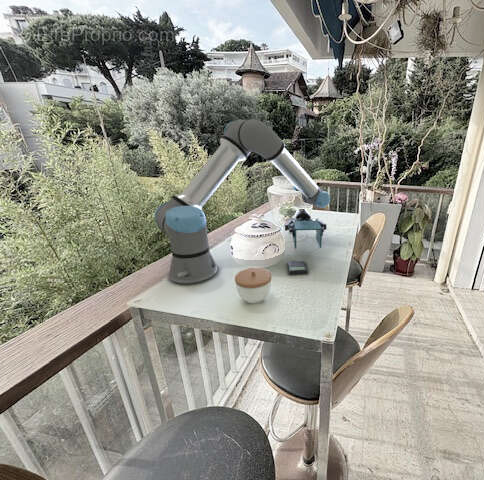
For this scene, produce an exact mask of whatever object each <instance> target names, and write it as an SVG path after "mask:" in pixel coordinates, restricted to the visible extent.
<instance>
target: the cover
mask: <svg viewBox="0 0 484 480" xmlns="http://www.w3.org/2000/svg"><path fill="white" fill-rule="evenodd" d="M293 226H294V230H295V237H293V236H292V240H293V246H294V249H297V231H315V239H316V241H317V245H318V247H319V248H320V249H321V248H322V243H323V242H322V241H323V236H322V228H321V226H320V224H319V222H318V221H293Z"/></svg>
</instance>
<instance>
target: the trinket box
mask: <svg viewBox="0 0 484 480" xmlns="http://www.w3.org/2000/svg"><path fill="white" fill-rule="evenodd" d="M272 276H273V275H272V273H271V271H270V270H268V269H266V268H263V267H250V268H246V269H242V270H241V271H239V272H238V273H236V275H235V276H234V282H235V288H236V291H237V294H238V296H239V297H240V298H241V299H242V300H243V301H245V302H246V303H248V304H258V303H262V302H263V301H264V300H265V299H266V298H267V297H268V296H269V294H270V291H271V289H272V278H273V277H272Z"/></svg>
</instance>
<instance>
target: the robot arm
mask: <svg viewBox="0 0 484 480" xmlns="http://www.w3.org/2000/svg"><path fill="white" fill-rule="evenodd" d="M219 144H220V145H219V147H218V148H217V149H216V151H215V152H213V154H212V155H211V156H210V158H209V159H207V161H206V162H205V163H204V165H203V166H202V167H201V169H200V170H199V171H198V172H197V173H196V175H195V176H194V177H193V178H192V179H191V181H190V182H189V183H188V184H187V185H186V187H185V188H184V189H183V190H182V192H180V193H174V194H173V195H172V197H171V198H170V199H169V200H168V201H165V202H163V203H161V204H160V205H159V206H158V207H157V208H156V210H155V212H154V222H155V225H156V226H157V228H158V229H159V231H161V232H162V233H163V234H164V235H166V237H167V238H168V239H169V244H170V249H171V255H172V257H171V263H170V268H169V278H170V280H171V281H172V282H173V283H176V284H181V285H191V284H197V283H202V282H205V281H207V280H209V279H211V278H213V277H215V276H216V274H217V272H218V266H217V263H216V261H215V260H214V257H213V256H212V253H211V252H210V245H209V236H208V227H207V218H206V214H205V212H204V210H203V209H202V208H203V207H204V205H205V204H206V203H207V202H208V201H209V199H210V198H211V197H212V195H213V194H214V193H215V191H216V190H217V189H218V188H219V187H220V185H221V184H223V182H224V180H225V179H226V178H227V177H228V175H229V174H230V173H231V172H232V171H233V169H235V167H236V166H237V164H238V163H239V162H241V161H246V159H247V158H248V157H249V156H250V154H251V153H255V154H258V155H259V156H260V157H262V158H263V159H264V160H265V161H266V162H271V163H272V164H273V165H274V166H275V167H276V168H277V169H278V170H279V171H280V172H281V174H282V175H283V176H285V178H286V179H287V180H288V181H289V182H290V183H291V184H292V185H293V190H296V191H300V192H301V194H302V199H303V201H304V202H305V203H308V205H312V206H313V207H317V208H326V207H327V206H328V205H329V204H330V201H331V196H330V193H328V192H327V191H324V190H321V188H320V187H319V186H318V185H317V184H316V183H315V182H314V181H313V179H312V178H311V177H310V175H309V174H308V173H307V171H305V170H304V168H303V167H302V166H301V165H300V163H298V162H297V161H296V159H295V157H293V156H292V154H290V152H289V150H287V148H285V147H286V144H285V142H284V141H283V140H282V139H281V138H280V136H278V134H277V133H276V132H275V131H274V129H272V128H271V127H270V126H269V125H267V124H266V123H264V122H263V121H261V120H258V119H253V118H252V119H240V118H239V119H234V120H232V121H230V122H229V123H227V124H226V126H225V128H224V130H223V135H222V136H221V137H220V139H219ZM293 190H292V191H293ZM293 217H294V219H292V218H289V219H288V221H287V222H286V223H285V224H284V231H285V232H287V231H288V233H289V234H292V235H291V236H292V238H293V237H295V230H294V226H293V221H318V222H319V224H320V226H321V228H322V237H323V236H324V232H325V231H327V223H325V222H324V221H322V220H320V219H319V218H315V219H312V217H311V215H310V212H309V210H308V211H307V210H306V209H299V210H297V211H296V213H295V215H294V214H293Z"/></svg>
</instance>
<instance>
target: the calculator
mask: <svg viewBox="0 0 484 480" xmlns="http://www.w3.org/2000/svg"><path fill="white" fill-rule="evenodd" d="M287 265H288V273H289V275H305V274H306V275H307V274H308V269H307V265H306V261H305V260H288V261H287Z"/></svg>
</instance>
